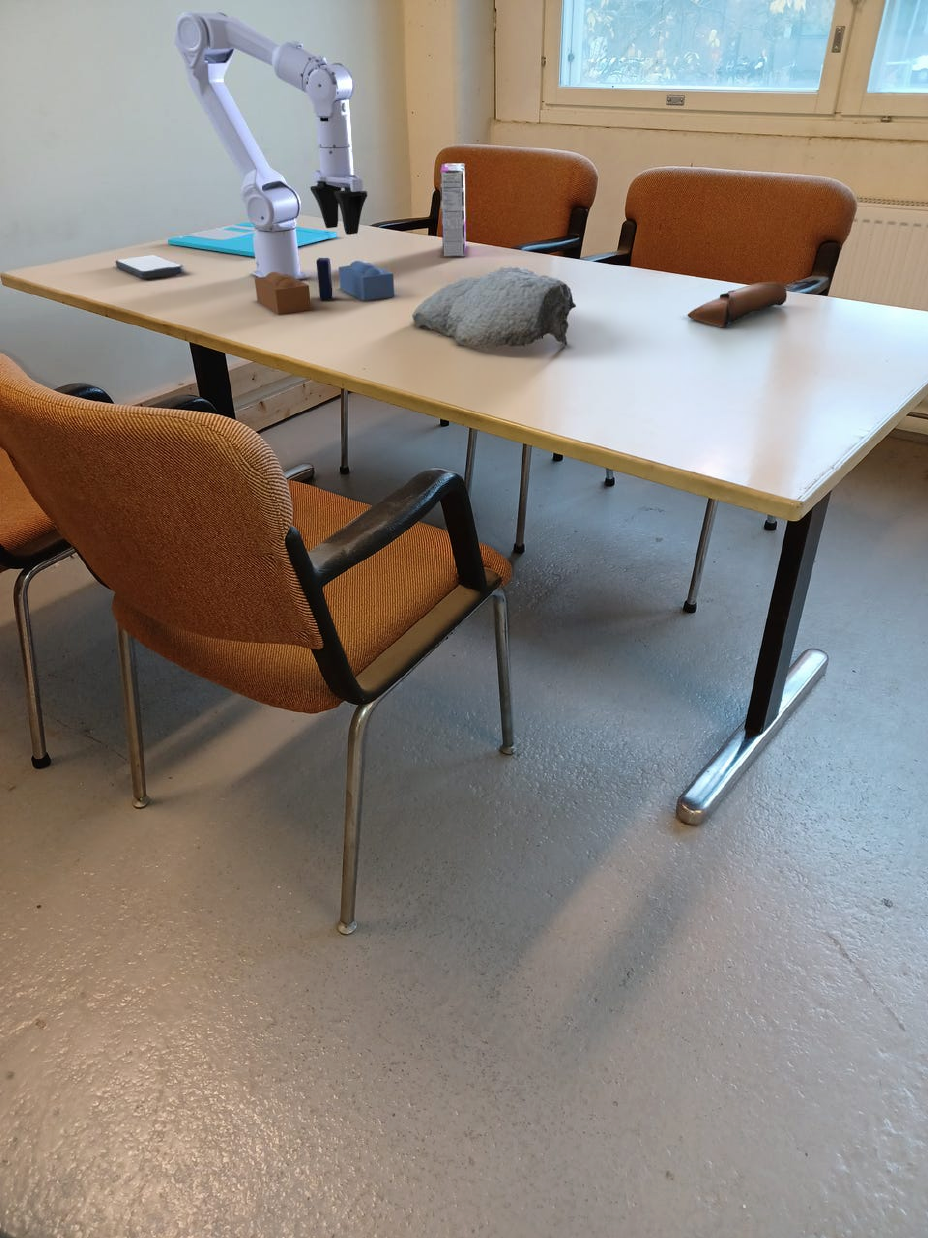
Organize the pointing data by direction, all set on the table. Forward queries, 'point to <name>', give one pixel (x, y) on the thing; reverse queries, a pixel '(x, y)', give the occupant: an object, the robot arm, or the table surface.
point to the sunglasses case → (739, 303)
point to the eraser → (324, 279)
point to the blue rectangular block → (366, 281)
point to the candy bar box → (453, 209)
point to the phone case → (149, 266)
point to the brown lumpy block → (282, 293)
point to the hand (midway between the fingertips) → (341, 230)
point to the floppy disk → (241, 238)
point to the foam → (499, 309)
